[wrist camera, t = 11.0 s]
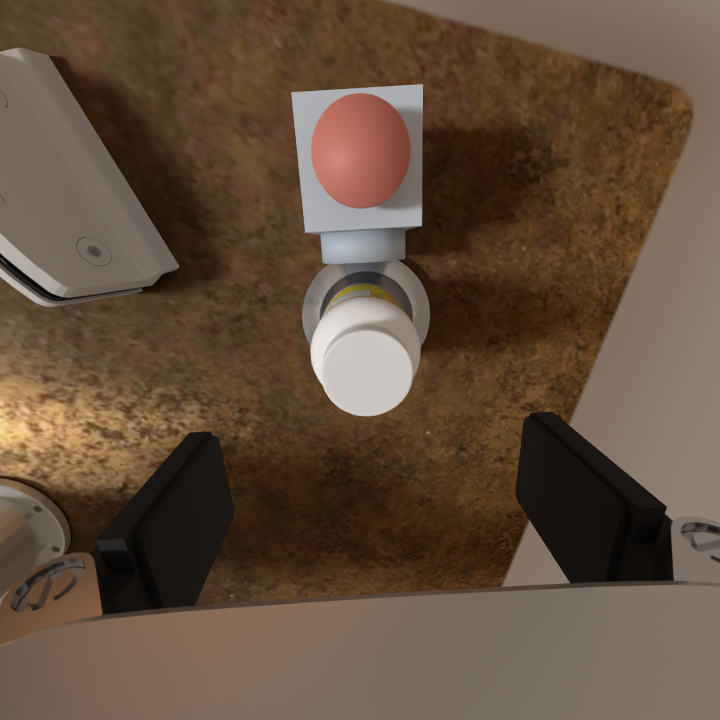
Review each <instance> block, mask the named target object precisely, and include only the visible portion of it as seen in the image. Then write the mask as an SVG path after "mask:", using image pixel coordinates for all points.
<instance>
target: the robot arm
mask: <svg viewBox="0 0 720 720" xmlns="http://www.w3.org/2000/svg"><path fill="white" fill-rule="evenodd" d="M516 497H517V500H518V503H519V504H520V506H521V507H522V509H523V511H524V512H525V514H526V515H527V517H528V518H529V520H530V521H531V523H532V525H533V526H534V528H535V529H536V531H537V532H538V534H539V535H540V537H541V538H542V540H543V542H544V543H545V545H546V546H547V548H548V549H549V551H550V552H551V554H552V556H553V557H554V559H555V560H556V562H557V563H558V565H559V566H560V568H561V570H562V571H563V573H564V574H565V576H566V577H567V579H568V580H569V582H570V583H568V584H550V585H530V586H512V587H492V588H473V589H454V590H437V591H420V592H403V593H386V594H369V595H352V596H336V597H320V598H304V599H289V600H274V601H258V602H243V603H228V604H213V605H200V606H195V603H196V601H197V599H198V597H199V594H200V592H201V590H202V587H203V585H204V583H205V581H206V578H207V576H208V574H209V571H210V569H211V567H212V565H213V562H214V560H215V558H216V556H217V553H218V551H219V549H220V546H221V544H222V542H223V540H224V537H225V535H226V533H227V530H228V528H229V526H230V524H231V521H232V519H233V513H234V508H233V502H232V498H231V493H230V488H229V484H228V479H227V474H226V470H225V465H224V460H223V456H222V451H221V446H220V442H219V438H218V437H217V436H213V434H212V433H211V432H210V431H209V432H192V433H189V434H188V435H187V436H186V437H185V438H184V439H183V441H182V442H181V443H180V444H179V445H178V446H177V447H176V449H175V450H174V451H173V452H172V453H171V454H170V455H169V457H168V458H167V459H166V460H165V461H164V462H163V464H162V465H161V466H160V467H159V468H158V469H157V470H156V472H155V473H154V474H153V475H152V476H151V477H150V478H149V480H148V481H147V482H146V483H145V484H144V485H143V486H142V488H141V489H140V490H139V491H138V492H137V493H136V495H135V496H134V497H133V498H132V499H131V500H130V501H129V503H128V504H127V505H126V506H125V507H124V508H123V509H122V511H121V512H120V513H119V514H118V515H117V516H116V517H115V519H114V520H113V521H112V522H111V523H110V524H109V526H108V527H107V528H106V529H105V530H104V531H103V532H102V534H101V535H100V536H99V537H98V538H97V539H96V542H97V546H96V547H95V548H94V549H93V551H92V552H91V553H90V554H87V553H77V552H75V553H71V554H66V555H64V554H65V553H66V552H67V550H68V548H69V545H70V540H71V533H70V528H69V525H68V522H67V520H66V518H65V516H64V515H63V513H62V512H61V510H60V509H59V508H58V507H57V506H56V505H55V504H54V503H53V501H51V500H50V499H49V498H48V497H46V496H45V495H44V494H42V493H40V492H39V491H37V490H35V489H34V488H32V487H29V486H27V485H25V484H22V483H20V482H16V481H12V480H9V479H1V478H0V720H720V523H717V522H715V521H711V520H707V519H703V518H697V517H681V518H678V519H676V520H674V521H672V520H671V519H670V518H669V517H668V516H666V515H665V511H666V508H667V507H666V506H665V505H664V504H663V503H662V502H660V501H659V500H658V499H657V498H656V497H654V496H653V495H652V494H651V493H649V492H648V491H647V490H646V489H645V488H644V487H642V486H641V485H640V484H639V483H638V482H636V481H635V480H634V479H633V478H632V477H630V476H629V475H628V474H627V473H626V472H624V471H623V470H622V469H621V468H620V467H618V466H617V465H616V464H615V463H614V462H612V461H611V460H610V459H608V457H606V456H605V455H604V454H603V453H601V452H600V451H599V450H598V449H597V448H595V447H594V446H593V445H592V444H591V443H590V442H588V441H587V440H586V439H585V438H583V437H582V436H581V435H580V434H579V433H578V432H576V431H575V430H574V429H573V428H572V427H570V426H569V425H568V424H567V423H566V422H564V421H563V420H562V419H561V418H559V417H558V416H557V415H556V414H555V413H553V412H538V413H531V414H530V416H529V418H525V420H524V423H523V431H522V439H521V448H520V457H519V466H518V475H517V483H516Z"/></svg>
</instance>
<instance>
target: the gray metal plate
mask: <svg viewBox="0 0 720 720" xmlns="http://www.w3.org/2000/svg"><path fill="white" fill-rule="evenodd" d="M358 283H370V284H375V285H378V286H380V287H382V288H384V289H385V290H387V291H388V292H390V293H391V294H392V295H393V296H394V297H395V299H396V300H397V301H398V303H399V304H400V305H401V307H402V308H403V310H404V311H405V313H406V314H407V316H408V317H409V319H410V320H411V322H412V323H413V325H414V327H415V329H416V331H417V334H418V337H419V341H420V348H421V346H422V344H423V342H424V340H425V338H426V335H427V332H428V328H429V322H430V307H429V301H428V297H427V294H426V291H425V289H424V287H423V285H422V283H421V282H420V280H419V279H418V277H417V276H416V275H415V274H414V273H413V271H412V270H411V269H409V268H408V267H407V266H406V265H405V264H403V263H402V262H400V261H398V260H393V261H383V262H368V263H347V264H328V265H327V266H326V267H325V268H323V269H322V270H321V271H320V272H319V274H318V275H317V276H316V277H315V279H314V280H313V281H312V283H311V285H310V287H309V288H308V291H307V293H306V296H305V299H304V304H303V311H302V319H303V327H304V332H305V335H306V338H307V340H308V342H309V344H310V346H311V343H312V338H313V335H314V332H315V330H316V328H317V325H318V324H319V322H320V320H321V318H322V316H323V314H324V312H325V310H326V308H327V306H328V304H329V302H330V301H331V300H332V298H333V297H334V296H335V295H336V294H337V293H338V292H339V291H341V290H342V289H344V288H346V287H348V286H350V285H353V284H358Z"/></svg>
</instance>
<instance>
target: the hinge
mask: <svg viewBox="0 0 720 720" xmlns="http://www.w3.org/2000/svg"><path fill="white" fill-rule="evenodd" d="M179 267H180V266H179V265H178V263H177V262H176V260H175V258H174V257H173V255H172V254H171V252H170V250H169V249H168V247H167V246H166V244H165V242H164V241H163V239H162V237H161V236H160V234H159V233H158V231H157V229H156V228H155V226H154V225H153V223H152V221H151V220H150V218H149V217H148V215H147V213H146V212H145V210H144V208H143V207H142V205H141V204H140V202H139V200H138V199H137V197H136V196H135V194H134V192H133V191H132V189H131V188H130V186H129V184H128V183H127V181H126V179H125V178H124V176H123V175H122V173H121V171H120V170H119V168H118V167H117V165H116V163H115V162H114V160H113V159H112V157H111V155H110V154H109V152H108V151H107V149H106V147H105V146H104V144H103V142H102V141H101V139H100V138H99V136H98V134H97V133H96V131H95V130H94V128H93V126H92V125H91V123H90V122H89V120H88V118H87V117H86V115H85V113H84V112H83V110H82V109H81V107H80V105H79V104H78V102H77V101H76V99H75V97H74V96H73V94H72V93H71V91H70V89H69V88H68V86H67V84H66V83H65V81H64V80H63V78H62V76H61V75H60V73H59V72H58V70H57V68H56V67H55V65H54V64H53V62H52V60H51V59H50V57H49V55H45V54H42V53H38V52H35V51H32V50H28V49H25V48H15V49H11V50H6V51H2V52H0V277H1V278H3V279H4V280H5V281H7V282H8V283H9V284H10V285H12V286H13V287H14V288H16V289H17V290H18V291H20V292H21V293H23V294H24V295H26V296H27V297H28V298H30V299H31V300H33V301H34V302H36V303H37V304H40V305H42V306H47V307H54V306H60V305H66V304H72V303H78V302H84V301H90V300H97V299H103V298H109V297H115V296H121V295H127V294H133V293H137V292H142V291H143V290H142V288H141V287H145V286H152V285H153V284H154V283H155V282H156V281H157V280H158V279H159V277H160V276H161V275H162V274H164V273H167V272H171V271H174V270H176V269H178V268H179Z"/></svg>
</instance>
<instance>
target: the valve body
mask: <svg viewBox="0 0 720 720" xmlns="http://www.w3.org/2000/svg"><path fill="white" fill-rule="evenodd" d="M291 93H292V103H293V113H294V123H295V133H296V143H297V153H298V163H299V173H300V184H301V194H302V204H303V214H304V224H305V232H306V233H311V234H317V235H320V236H321V247H322V259H323V263H326V264H347V263H368V262H383V261H393V260H401V259H405V230H407V229H411V228H415V227H419V226H422V123H423V84H421V85H405V86H389V87H372V88H356V89H340V90H324V91H307V92H291Z"/></svg>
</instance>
